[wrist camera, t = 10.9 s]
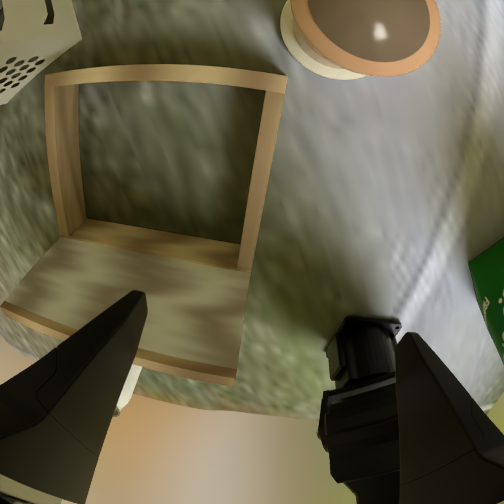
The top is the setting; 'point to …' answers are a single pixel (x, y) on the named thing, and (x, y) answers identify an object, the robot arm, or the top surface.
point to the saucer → (302, 56)
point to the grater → (34, 38)
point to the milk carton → (491, 291)
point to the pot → (367, 33)
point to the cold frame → (146, 243)
